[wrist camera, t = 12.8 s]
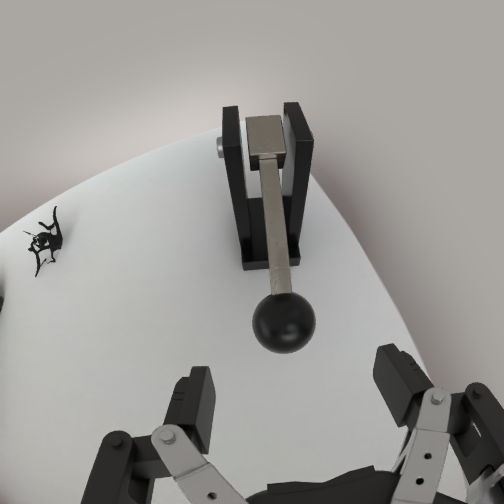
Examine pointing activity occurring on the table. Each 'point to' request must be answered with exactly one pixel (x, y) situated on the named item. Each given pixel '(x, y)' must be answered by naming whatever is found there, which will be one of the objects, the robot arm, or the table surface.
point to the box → (1, 301)
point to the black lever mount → (251, 209)
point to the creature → (53, 240)
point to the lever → (276, 246)
